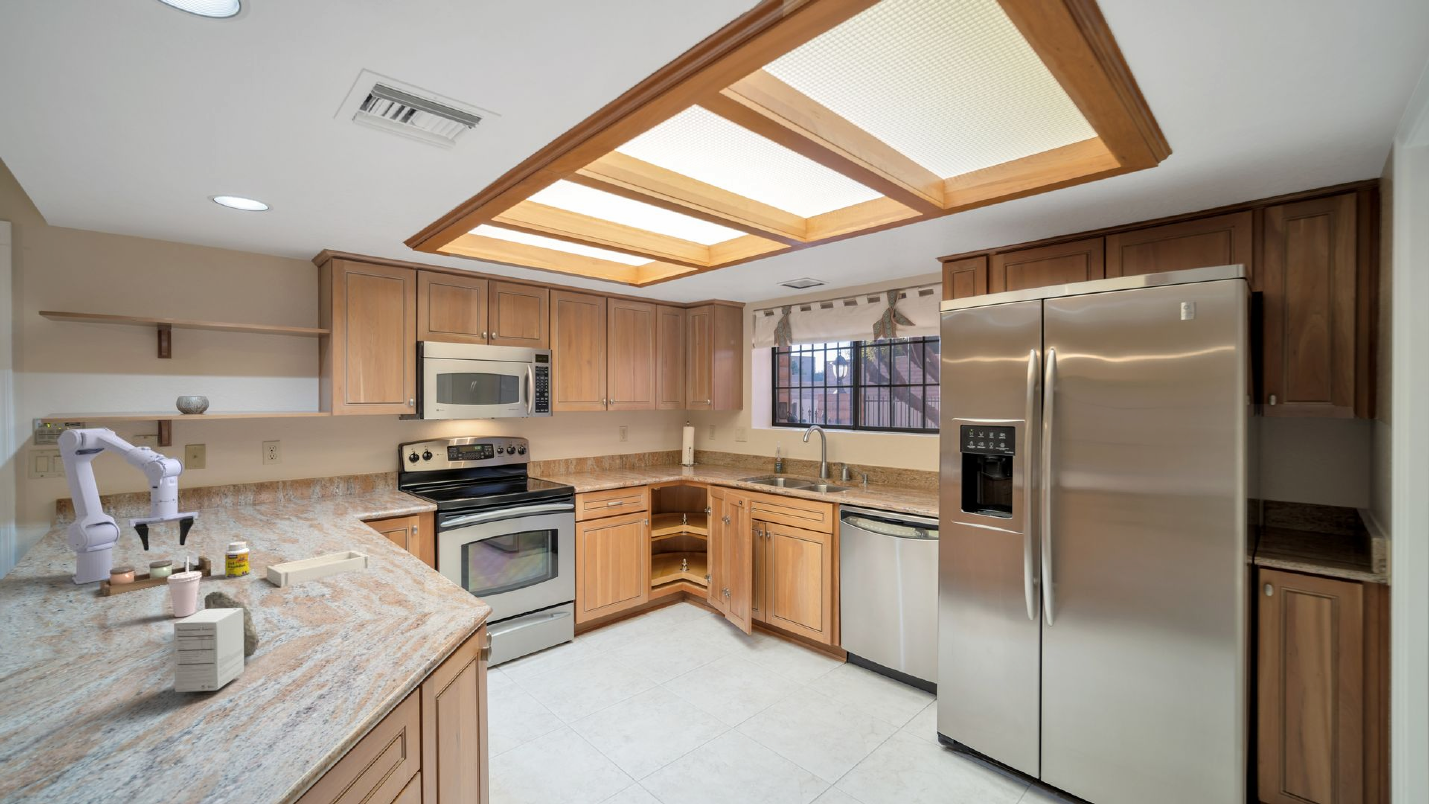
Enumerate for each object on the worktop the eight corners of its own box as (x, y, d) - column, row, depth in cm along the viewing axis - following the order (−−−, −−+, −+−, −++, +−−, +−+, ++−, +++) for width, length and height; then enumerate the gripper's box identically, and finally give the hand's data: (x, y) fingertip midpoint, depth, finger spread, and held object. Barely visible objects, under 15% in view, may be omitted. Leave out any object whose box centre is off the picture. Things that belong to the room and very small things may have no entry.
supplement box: (204, 673, 113) (204, 608, 113) (245, 672, 114) (245, 606, 114) (172, 693, 106) (172, 622, 106) (216, 691, 106) (216, 621, 106)
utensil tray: (266, 580, 172) (266, 566, 172) (353, 562, 191) (353, 550, 191) (281, 588, 165) (281, 573, 165) (370, 569, 183) (370, 556, 183)
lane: (100, 590, 163) (100, 572, 163) (202, 572, 180) (202, 555, 180) (106, 597, 158) (106, 578, 158) (210, 577, 175) (210, 560, 175)
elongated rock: (194, 629, 136) (193, 586, 136) (223, 622, 140) (223, 580, 140) (240, 671, 114) (240, 620, 114) (273, 662, 119) (273, 612, 118)
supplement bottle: (223, 581, 171) (223, 546, 171) (226, 576, 175) (226, 542, 175) (248, 578, 174) (248, 543, 174) (250, 573, 179) (250, 540, 179)
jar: (149, 587, 166) (149, 566, 166) (148, 583, 169) (148, 562, 169) (172, 583, 169) (172, 562, 169) (171, 580, 172) (171, 559, 172)
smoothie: (208, 611, 147) (208, 555, 147) (177, 620, 141) (177, 561, 141) (191, 608, 149) (191, 552, 149) (160, 617, 143) (160, 559, 143)
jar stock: (108, 590, 163) (108, 569, 163) (132, 586, 167) (132, 565, 167) (111, 594, 160) (111, 572, 160) (136, 589, 164) (136, 568, 164)
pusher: (184, 575, 176) (183, 562, 176) (192, 574, 177) (192, 560, 177) (189, 579, 172) (189, 565, 172) (198, 577, 174) (198, 564, 174)
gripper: (131, 505, 163) (132, 554, 163) (200, 498, 174) (200, 544, 174) (127, 502, 167) (127, 550, 167) (194, 496, 178) (194, 541, 179)
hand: (164, 547), depth 171 cm, fingers open, 7 cm apart
